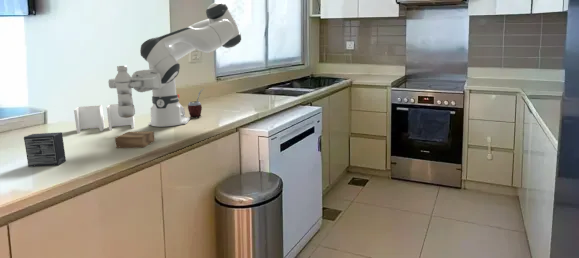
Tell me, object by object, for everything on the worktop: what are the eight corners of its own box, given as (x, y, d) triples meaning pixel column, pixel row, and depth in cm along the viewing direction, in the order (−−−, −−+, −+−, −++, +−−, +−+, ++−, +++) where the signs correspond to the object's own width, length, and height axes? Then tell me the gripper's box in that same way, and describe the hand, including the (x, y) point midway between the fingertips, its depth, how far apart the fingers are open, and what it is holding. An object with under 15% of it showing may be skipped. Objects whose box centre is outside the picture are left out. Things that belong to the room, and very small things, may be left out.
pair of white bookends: (134, 124, 236) (132, 102, 234) (134, 128, 225) (131, 105, 223) (80, 129, 229) (77, 106, 227) (77, 133, 219) (73, 110, 217)
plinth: (129, 141, 195) (128, 131, 194) (154, 141, 194) (153, 131, 193) (116, 147, 185) (114, 137, 184) (143, 147, 183) (141, 136, 182)
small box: (67, 160, 168) (63, 131, 166) (59, 165, 161) (54, 135, 159) (36, 162, 168) (32, 133, 166) (27, 167, 161) (22, 136, 159)
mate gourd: (186, 117, 250) (184, 88, 248) (200, 115, 255) (197, 87, 252) (192, 118, 245) (190, 89, 242) (206, 116, 249) (204, 88, 246)
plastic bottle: (117, 119, 183) (111, 66, 179) (119, 116, 189) (114, 66, 185) (135, 118, 184) (129, 66, 180) (136, 115, 190) (131, 65, 187)
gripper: (119, 74, 199) (98, 77, 186) (163, 73, 193) (144, 76, 180) (121, 89, 200) (100, 93, 187) (164, 88, 194) (146, 93, 181)
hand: (122, 85), depth 183 cm, fingers closed on plastic bottle, 6 cm apart
